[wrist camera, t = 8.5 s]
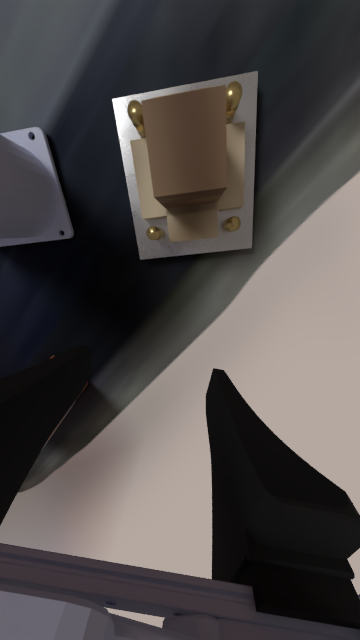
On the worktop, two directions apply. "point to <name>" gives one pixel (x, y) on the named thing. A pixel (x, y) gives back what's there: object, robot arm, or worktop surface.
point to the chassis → (231, 222)
